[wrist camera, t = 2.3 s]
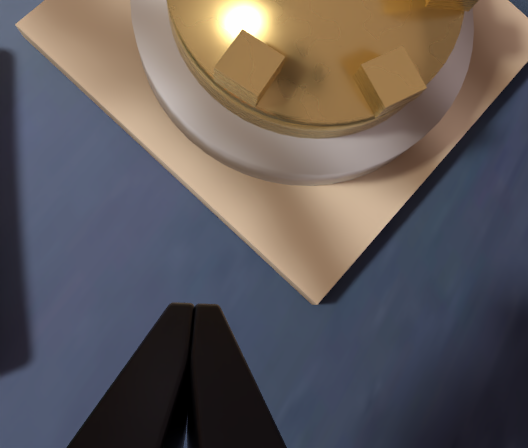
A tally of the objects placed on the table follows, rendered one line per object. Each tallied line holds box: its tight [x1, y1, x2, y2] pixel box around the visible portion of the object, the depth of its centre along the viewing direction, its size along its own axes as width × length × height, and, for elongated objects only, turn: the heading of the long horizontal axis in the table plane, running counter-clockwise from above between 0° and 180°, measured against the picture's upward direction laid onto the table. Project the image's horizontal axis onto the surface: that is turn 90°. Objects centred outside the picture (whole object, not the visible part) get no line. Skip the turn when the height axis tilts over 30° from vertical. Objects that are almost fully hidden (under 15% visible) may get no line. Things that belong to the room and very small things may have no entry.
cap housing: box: [15, 0, 528, 305], centre depth 22 cm, size 18×18×3 cm
